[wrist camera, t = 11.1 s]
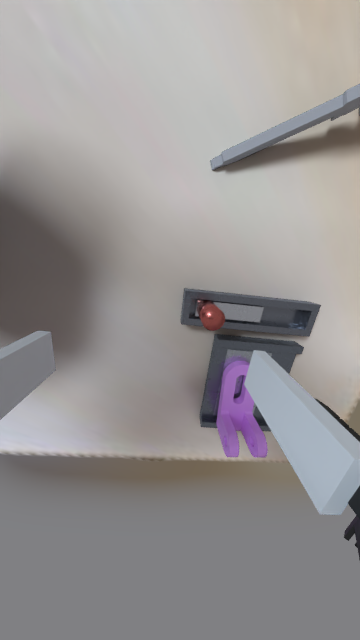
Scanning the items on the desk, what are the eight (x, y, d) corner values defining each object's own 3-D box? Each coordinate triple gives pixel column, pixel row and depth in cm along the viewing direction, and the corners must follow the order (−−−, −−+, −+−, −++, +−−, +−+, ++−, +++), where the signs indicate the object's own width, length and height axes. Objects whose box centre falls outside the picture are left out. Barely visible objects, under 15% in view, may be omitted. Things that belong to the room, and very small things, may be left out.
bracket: (245, 424, 32) (264, 463, 25) (216, 423, 32) (227, 463, 25) (257, 361, 29) (282, 387, 22) (224, 360, 28) (240, 385, 22)
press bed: (199, 416, 34) (201, 426, 32) (214, 333, 28) (218, 339, 26) (266, 421, 35) (272, 431, 32) (294, 341, 29) (303, 347, 27)
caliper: (376, 98, 20) (463, 26, 14) (376, 110, 20) (461, 45, 14) (209, 162, 21) (222, 122, 15) (211, 172, 22) (225, 136, 16)
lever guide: (180, 319, 27) (181, 324, 25) (184, 288, 26) (185, 290, 24) (298, 330, 28) (309, 336, 26) (308, 301, 27) (320, 305, 25)
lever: (194, 315, 26) (199, 329, 21) (196, 297, 25) (202, 307, 20) (256, 321, 27) (278, 336, 21) (261, 304, 26) (284, 315, 20)
